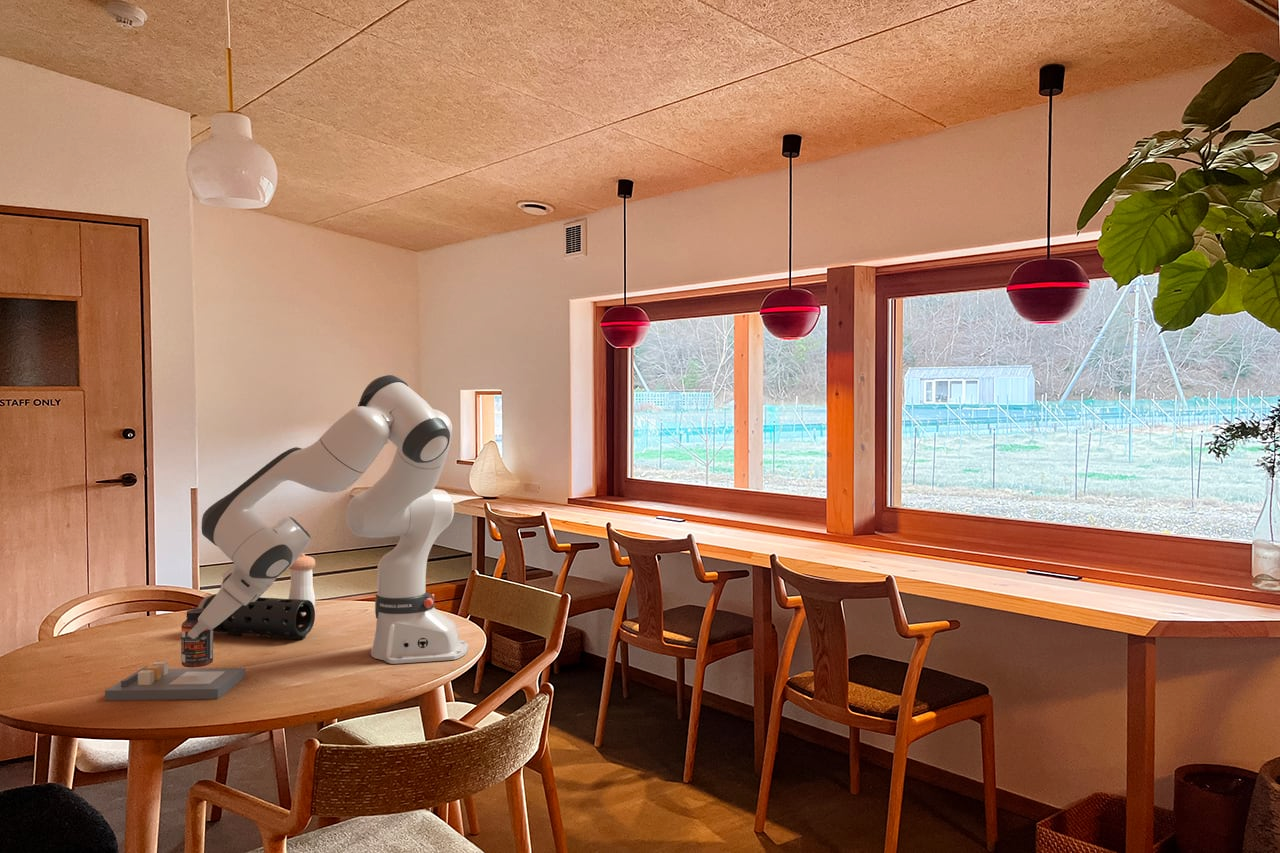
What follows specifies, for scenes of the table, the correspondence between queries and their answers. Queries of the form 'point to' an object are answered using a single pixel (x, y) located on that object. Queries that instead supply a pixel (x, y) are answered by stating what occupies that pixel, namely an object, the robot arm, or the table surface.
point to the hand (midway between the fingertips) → (194, 631)
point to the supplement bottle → (195, 642)
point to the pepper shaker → (302, 581)
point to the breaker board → (175, 683)
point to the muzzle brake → (268, 618)
